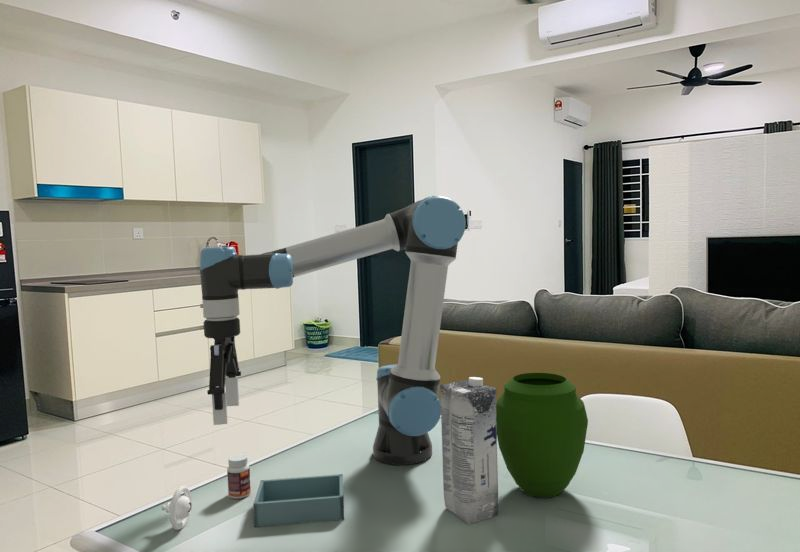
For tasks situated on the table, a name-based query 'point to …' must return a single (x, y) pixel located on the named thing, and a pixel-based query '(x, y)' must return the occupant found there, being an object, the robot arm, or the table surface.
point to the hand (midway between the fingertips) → (227, 414)
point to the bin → (299, 500)
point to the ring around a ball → (179, 507)
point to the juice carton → (469, 449)
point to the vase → (541, 432)
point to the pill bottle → (238, 477)
